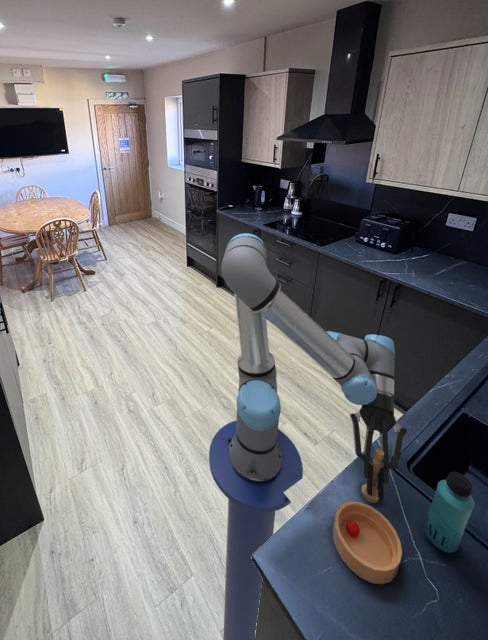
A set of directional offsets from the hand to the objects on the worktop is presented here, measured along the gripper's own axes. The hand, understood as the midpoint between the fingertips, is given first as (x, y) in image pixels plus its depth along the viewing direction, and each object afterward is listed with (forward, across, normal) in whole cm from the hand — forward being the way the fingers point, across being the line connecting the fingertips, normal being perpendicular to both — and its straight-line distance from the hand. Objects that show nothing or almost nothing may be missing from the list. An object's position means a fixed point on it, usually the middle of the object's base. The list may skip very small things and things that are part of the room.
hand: (374, 496), depth 79 cm
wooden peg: (+1, 0, -6) cm, 6 cm away
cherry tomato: (+7, +5, +3) cm, 9 cm away
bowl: (+10, +2, +3) cm, 11 cm away
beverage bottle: (+5, -14, -3) cm, 15 cm away
